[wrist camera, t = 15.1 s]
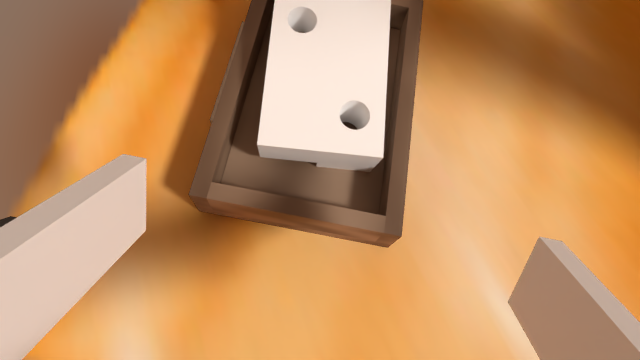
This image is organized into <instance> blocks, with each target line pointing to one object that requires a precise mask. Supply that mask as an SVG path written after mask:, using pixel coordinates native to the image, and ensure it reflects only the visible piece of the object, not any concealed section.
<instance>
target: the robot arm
mask: <svg viewBox="0 0 640 360" xmlns="http://www.w3.org/2000/svg"><path fill="white" fill-rule="evenodd" d="M145 231H146V158H141V157H136V156H130V155H125V154H122V155H121V156H119V157H117V158H116V159H114V160H112V161H111V162H109V163H107V164H106V165H104V166H102V167H101V168H99V169H97V170H96V171H94V172H92V173H91V174H89V175H87V176H86V177H84V178H82V179H81V180H79V181H77V182H76V183H74V184H72V185H71V186H69V187H67V188H66V189H64V190H62V191H61V192H59V193H57V194H56V195H54V196H52V197H50V198H49V199H47V200H45V201H44V202H42V203H40V204H39V205H37V206H35V207H34V208H32V209H30V210H29V211H27V212H25V213H24V214H22V215H20V216H19V217H17V218H16V217H11V216H10V217H7V218H4V219H1V220H0V360H22V359H23V358H24V357H25V356H26V355H27V354H28V353H29V352H30V351H31V349H32V348H33V347H34V346H35V345H36V344H37V343H38V342H39V341H40V340H41V339H42V338H43V337H44V336H45V335H46V334H47V333H48V332H49V331H50V330H51V329H52V328H53V327H54V326H55V325H56V323H57V322H58V321H59V320H60V319H61V318H62V317H63V316H64V315H65V314H66V313H67V312H68V311H69V310H70V309H71V308H72V307H73V306H74V305H75V304H76V303H77V302H78V301H79V300H80V299H81V297H82V296H83V295H84V294H85V293H86V292H87V291H88V290H89V289H90V288H91V287H92V286H93V285H94V284H95V283H96V282H97V281H98V280H99V279H100V278H101V277H102V276H103V275H104V274H105V273H106V271H107V270H108V269H109V268H110V267H111V266H112V265H113V264H114V263H115V262H116V261H117V260H118V259H119V258H120V257H121V256H122V255H123V254H124V253H125V252H126V251H127V250H128V249H129V248H130V247H131V245H132V244H133V243H134V242H135V241H136V240H137V239H138V238H139V237H140V236H141V235H142V234H143V233H144V232H145ZM508 303H509V305H510V307H511V308H512V310H513V312H514V314H515V316H516V317H517V319H518V321H519V323H520V324H521V326H522V328H523V330H524V332H525V333H526V335H527V337H528V339H529V341H530V342H531V344H532V346H533V348H534V349H535V351H536V353H537V355H538V357H539V358H540V360H640V322H639V321H638V320H637V319H636V318H635V317H634V316H633V315H632V314H631V313H630V312H629V311H628V310H627V309H626V308H625V307H624V306H623V305H622V303H621V302H620V301H619V300H618V299H617V298H616V297H615V296H614V295H613V294H612V293H611V292H610V291H609V290H608V289H607V288H606V287H605V286H604V285H603V284H602V283H601V281H600V280H599V279H598V278H597V277H596V276H595V275H594V274H593V273H592V272H591V271H590V270H589V269H588V268H587V267H586V266H585V265H584V264H583V263H582V262H581V261H580V259H579V258H578V257H577V256H576V255H575V254H574V253H573V252H572V251H571V250H570V249H569V248H568V247H567V246H566V245H565V244H564V243H563V242H562V241H558V240H553V239H548V238H543V237H539V238H538V240H537V242H536V245H535V247H534V249H533V251H532V253H531V255H530V257H529V259H528V261H527V263H526V265H525V267H524V269H523V272H522V274H521V276H520V278H519V280H518V282H517V284H516V286H515V288H514V290H513V292H512V294H511V296H510V299H509V301H508Z"/></svg>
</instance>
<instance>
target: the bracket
mask: <svg viewBox="0 0 640 360" xmlns="http://www.w3.org/2000/svg"><path fill="white" fill-rule="evenodd" d="M390 10H391V0H275V1H274V10H273V18H272V26H271V34H270V43H269V51H268V59H267V67H266V75H265V84H264V92H263V100H262V108H261V116H260V125H259V133H258V141H257V146H258V150H259V154H260V157H264V158H274V159H284V160H294V161H304V162H314V163H316V166H317V167H327V168H337V169H347V170H356V171H366V172H370V171H371V170H372V169H373V168H374V167H375V166H376V165H377V164H378V163H379V162H380V161H381V160H382V159H383V154H384V133H385V113H386V92H387V72H388V51H389V31H390ZM299 32H305V33H299ZM342 122H349V123H351V124H353V125H354V126H355V127H356V128H357V130H353V129H350V128H348V127H346V126H345V125H344V124H343V123H342Z"/></svg>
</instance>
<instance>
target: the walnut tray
mask: <svg viewBox="0 0 640 360" xmlns="http://www.w3.org/2000/svg"><path fill="white" fill-rule="evenodd" d="M274 1H275V0H252V1H251V4H250V7H249V10H248V14H247V17H246V20H245V22H243V21H242V24H241V27H240V30H239V33H238V36H237V39H236V42H235V45H234V48H233V51H232V54H231V57H230V60H229V63H228V66H227V69H226V72H225V75H224V78H223V81H222V84H221V87H220V91H219V94H218V97H217V100H216V103H215V106H214V109H213V112H212V115H211V118H210V122H211V127H210V130H209V133H208V136H207V139H206V143H205V146H204V149H203V152H202V155H201V158H200V161H199V164H198V167H197V170H196V173H195V176H194V179H193V182H192V185H191V189H190V192H189V196H190V198H191V199H192V201H193V202H194V204H195V206H196V207H197V209H198V210H199V211H202V212H207V213H212V214H217V215H223V216H228V217H233V218H238V219H243V220H248V221H253V222H259V223H264V224H269V225H274V226H279V227H284V228H289V229H295V230H300V231H305V232H310V233H315V234H320V235H325V236H331V237H336V238H341V239H346V240H351V241H356V242H361V243H367V244H372V245H377V246H382V247H387V248H388V247H389V246H390V245H391V244H393V243H394V242H395V241H396V240H398V239H399V238H400V237H401V236H402V226H403V215H404V205H405V194H406V183H407V172H408V161H409V150H410V140H411V129H412V118H413V107H414V96H415V85H416V75H417V64H418V53H419V42H420V31H421V20H422V9H423V0H391V10H390V31H389V51H388V72H387V92H386V113H385V133H384V154H383V159H382V160H381V161H380V162H379V163H378V164H377V165H376V166H375V167H374V168H373V169H372V170H371V171H370V172H366V171H356V170H347V169H337V168H327V167H317V166H316V163H314V162H304V161H294V160H284V159H274V158H264V157H260V154H259V150H258V146H257V141H258V133H259V125H260V116H261V108H262V100H263V92H264V84H265V75H266V67H267V59H268V51H269V43H270V34H271V26H272V18H273V10H274ZM299 33H305V32H299ZM342 123H343V124H344V125H345V126H346V127H348V128H350V129H353V130H357V128H356V127H355V126H354V125H353V124H351V123H349V122H342Z"/></svg>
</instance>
